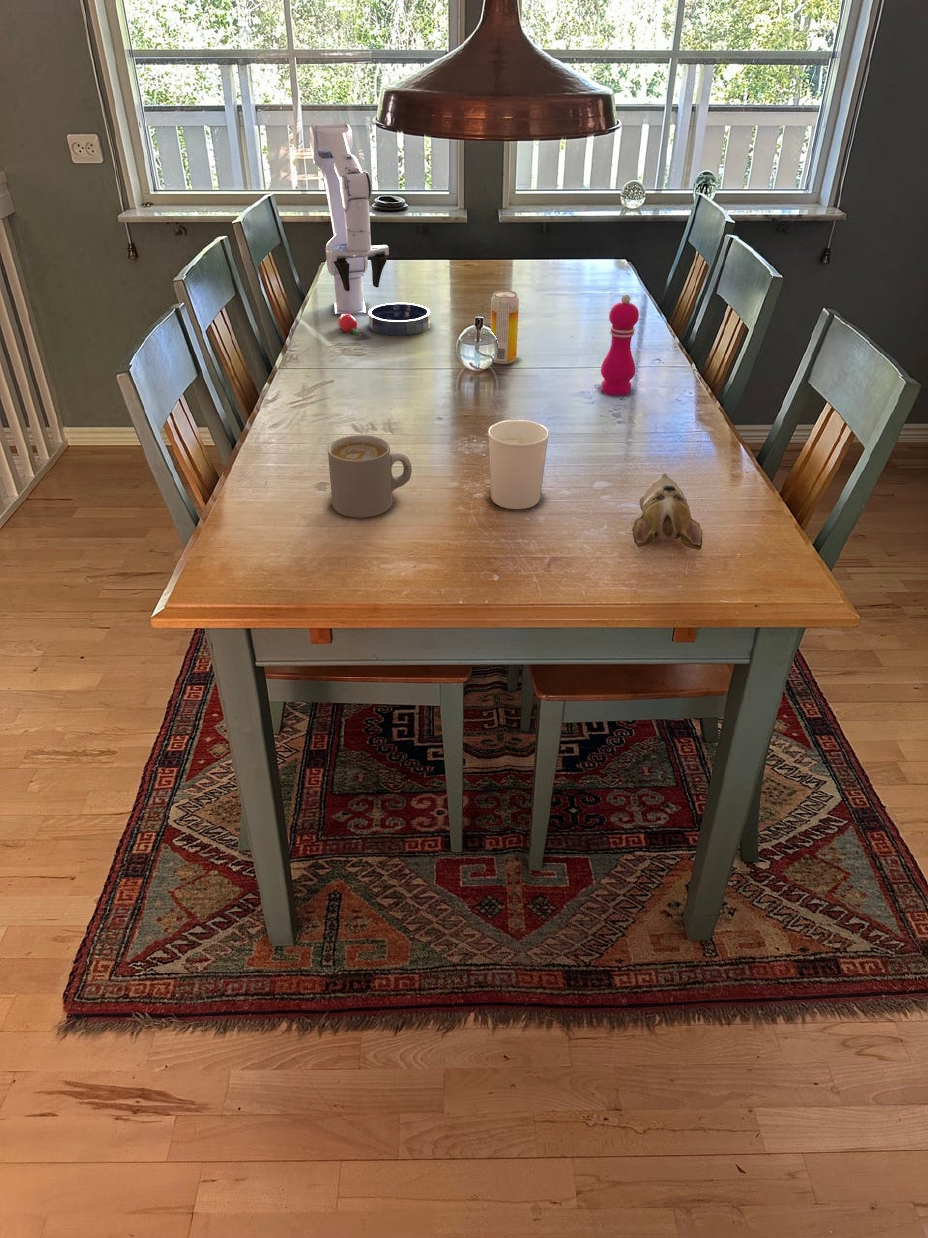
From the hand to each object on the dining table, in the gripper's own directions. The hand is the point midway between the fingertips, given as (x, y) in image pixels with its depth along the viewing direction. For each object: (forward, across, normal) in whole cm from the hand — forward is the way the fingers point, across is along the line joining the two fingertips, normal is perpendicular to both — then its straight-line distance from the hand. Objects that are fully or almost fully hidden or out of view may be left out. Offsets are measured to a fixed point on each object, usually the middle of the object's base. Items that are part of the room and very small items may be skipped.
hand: (361, 288), depth 220 cm
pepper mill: (+10, +32, -64) cm, 72 cm away
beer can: (+10, +20, -37) cm, 43 cm away
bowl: (+9, +8, -5) cm, 13 cm away
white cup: (+10, -12, -97) cm, 98 cm away
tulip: (+9, -5, -4) cm, 11 cm away
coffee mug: (+10, -34, -88) cm, 94 cm away
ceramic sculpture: (+10, +3, -118) cm, 119 cm away
